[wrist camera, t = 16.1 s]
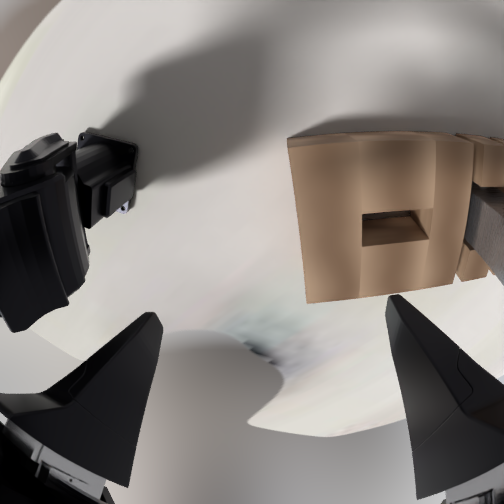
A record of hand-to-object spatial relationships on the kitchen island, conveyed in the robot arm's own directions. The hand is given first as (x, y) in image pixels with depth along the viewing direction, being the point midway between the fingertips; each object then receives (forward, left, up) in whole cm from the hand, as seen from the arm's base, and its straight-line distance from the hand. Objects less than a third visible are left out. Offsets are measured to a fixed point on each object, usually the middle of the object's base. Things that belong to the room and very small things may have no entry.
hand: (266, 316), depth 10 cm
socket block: (+12, +5, -13) cm, 18 cm away
